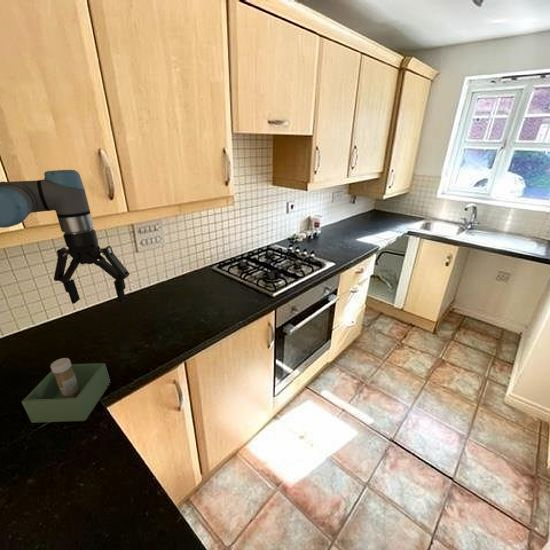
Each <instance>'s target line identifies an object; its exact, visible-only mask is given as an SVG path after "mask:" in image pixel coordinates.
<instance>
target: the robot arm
mask: <svg viewBox="0 0 550 550" xmlns="http://www.w3.org/2000/svg"><path fill="white" fill-rule="evenodd" d="M43 176H44V177H43V178H44V179H43V178H42V179H37V180H18V181H17V180H16V181H0V228H1V229H2V228H3V229H5V228H11V227H15V226H17V225H19V224H21V223H23V222H24V221H25V220H26V219H27V217H28V216H29V215H30V214H33V213H42V212H52V211H55V213H56V217H57V220H58V224H59V227H60V231H61V232H62V233H63V235H62V237H63V240H64V243H65V246H66V247H61V248H59V249H57V250H56V256H57V260H56V265H55V266H56V267H55V270H54V275H53V281H54V282H60V283H62V284H63V287H64V291H65V292H66V293H68V296H69V299H70V302H71V304H72V305H73V304H76V303H78V301H80V300H81V297H80V294H79V291H78V288H77V284H76V282H75V279H74V278H73V279H72V277H73V275H74V274H75V272H76V270H77V268H78V266H79V265H86V264H87V265H93V264H94V265H95V266H97V267H99V268H100V269H102V270H103V271H104V272H105V273H106V274H108V275H109V276H110V277H112V278H113V279H114V281H113V284H114V288H115V293H116V297H117V301H118V303H123V301H124V300H125V299H126V293H125V289H126V288H127V287H126V282H125V280H126V279H127V278H128V277H129V276H130V272H129V270H128V269H127V268H126V267H125V265H124V264H123V263H122V262H121V260H120V259H119V258H118V257H117V255H116V254H115V252H114V250H113V248H112V246H111V245H107V246H106V247H100V245H99V239H98V236H97V231H96V230H95V229H94V228H95V224H94V221H93V218H92V214H91V209H90V206H89V201H88V197H87V194H86V189H85V187H84V183H83V180H82V178H81V174H80V173H79V172H78V171H77V170H75V169H57V170H56V169H55V170H46V171H44V173H43ZM68 256H70V257H71V258H72V259H71V261H70V262H69V265H68V267H67V269H66V266H67V262H68V258H69V257H68Z"/></svg>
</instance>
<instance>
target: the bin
mask: <svg viewBox="0 0 550 550" xmlns="http://www.w3.org/2000/svg"><path fill="white" fill-rule="evenodd" d="M71 366H72V370H73V372H74V374H75V377H76V380H77V383H78V385H79V389H80V394H79V395H78V396H77V398H63V396H62V394H61V391H60V389H59V386H58V384H57V380H56V378H55V375H54V373H53V372H52V370H50V371H49V373H48V374H47V375H46V376H44V378H43V379H42V380H41V381H40V382H39V383H38V384H37V385H36V386H35V387H34V388H33V389H32V390H31V392H30V393H28V395H26V397H24V398H23V400H21V404H22V406H23V408H24V410H25V412H26V414H27V417H28V418H29V421H30V423H32V424H34V423H35V424H36V423H38V424H39V423H61V422H85V421H87V419H88V418H89V416H90V414H91V413H92V412H93V411H94V408H95V407H96V405H97V404H98V402H99V401H100V400H101V398H102V396H103V395H104V393H105V392H106V390H107V389H108V387H109V386H110V384H111V382H112V381H111V379H110V378H111V377H110V374H109V371H108V369H107V365H106V363H105V362H99V363H98V362H97V363H95V362H94V363H71ZM110 381H111V382H110ZM109 383H110V384H109ZM107 386H108V387H107Z"/></svg>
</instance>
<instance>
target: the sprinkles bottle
mask: <svg viewBox="0 0 550 550" xmlns="http://www.w3.org/2000/svg"><path fill="white" fill-rule="evenodd" d="M71 364H72V362H71V360H70V358H68V357H62V358H58V359H56V360H55V361H53V362H52V363H51V364H50V366H49V367H50V369H51V370H50V371H52V372H53V373H54V375H55V378H56V380H57V384H58V386H59V389H60V391H61V394H62V396H63V398H77V396H78V395H79V394H80V389H79V385H78V383H77V380H76V377H75V374H74V372H73V370H72V366H71Z"/></svg>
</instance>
